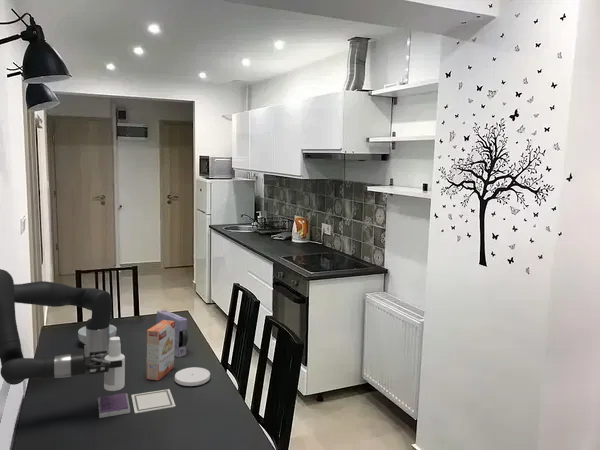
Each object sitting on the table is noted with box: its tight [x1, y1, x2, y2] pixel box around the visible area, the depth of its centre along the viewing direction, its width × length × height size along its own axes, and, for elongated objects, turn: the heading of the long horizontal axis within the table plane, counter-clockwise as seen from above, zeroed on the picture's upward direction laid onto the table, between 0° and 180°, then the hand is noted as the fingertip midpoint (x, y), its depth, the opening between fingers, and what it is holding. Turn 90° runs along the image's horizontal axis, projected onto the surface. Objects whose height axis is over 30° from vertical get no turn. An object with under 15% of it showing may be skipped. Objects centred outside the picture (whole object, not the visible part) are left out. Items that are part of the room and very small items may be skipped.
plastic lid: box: [174, 366, 211, 387], centre depth 197 cm, size 14×14×2 cm
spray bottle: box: [103, 336, 126, 392], centre depth 171 cm, size 7×7×18 cm
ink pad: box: [97, 392, 131, 419], centre depth 173 cm, size 10×12×2 cm
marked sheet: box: [131, 388, 176, 414], centre depth 178 cm, size 14×14×1 cm
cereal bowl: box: [77, 324, 118, 345], centre depth 231 cm, size 17×17×7 cm
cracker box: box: [146, 320, 175, 382], centre depth 200 cm, size 14×6×21 cm, turn 168°
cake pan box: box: [156, 309, 189, 359], centre depth 224 cm, size 19×5×18 cm, turn 50°
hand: (121, 359), depth 172 cm, fingers closed on spray bottle, 7 cm apart
